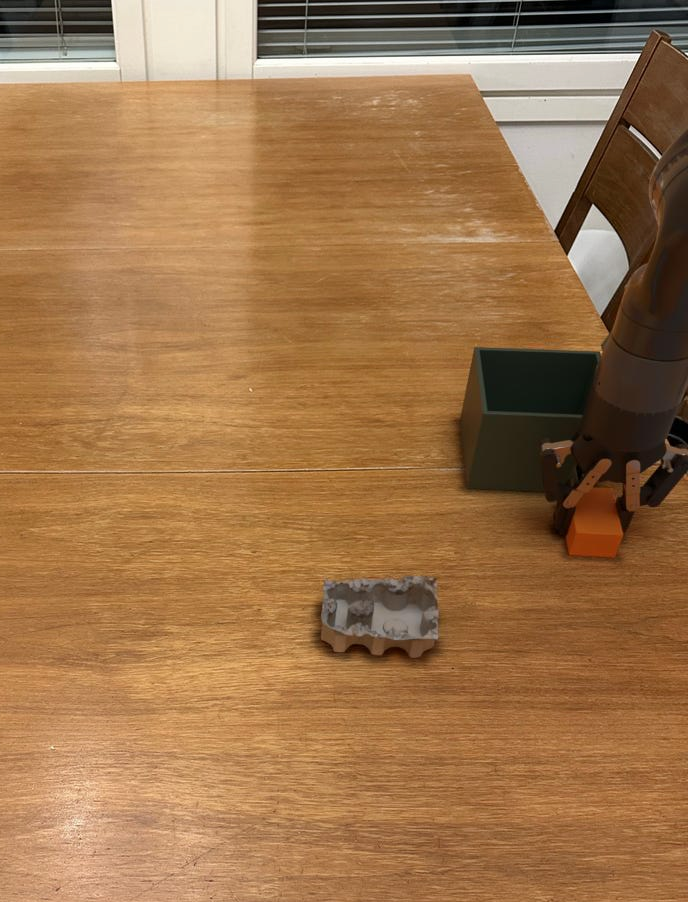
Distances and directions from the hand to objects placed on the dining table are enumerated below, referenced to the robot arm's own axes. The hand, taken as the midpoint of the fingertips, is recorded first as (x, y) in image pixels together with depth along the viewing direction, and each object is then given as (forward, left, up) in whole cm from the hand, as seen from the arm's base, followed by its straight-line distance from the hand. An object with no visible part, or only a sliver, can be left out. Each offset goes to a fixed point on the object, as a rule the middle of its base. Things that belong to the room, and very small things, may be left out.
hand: (587, 530), depth 98 cm
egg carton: (+21, +15, 0) cm, 26 cm away
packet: (0, 0, 0) cm, 0 cm away
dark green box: (+5, -12, 0) cm, 13 cm away
